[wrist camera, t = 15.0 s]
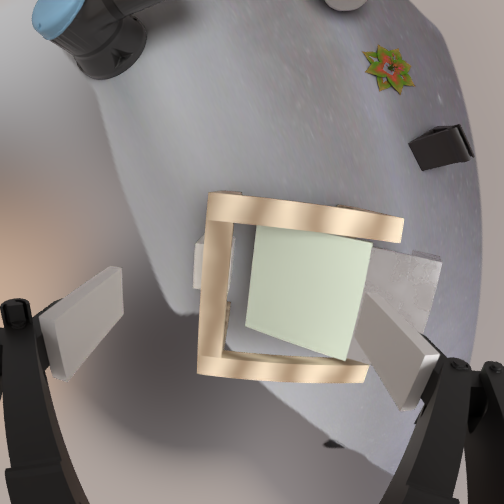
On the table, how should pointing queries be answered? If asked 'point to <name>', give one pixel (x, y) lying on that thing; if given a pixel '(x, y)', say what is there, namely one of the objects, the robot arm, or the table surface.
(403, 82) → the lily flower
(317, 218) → the trapdoor frame
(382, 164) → the table surface
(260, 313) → the trapdoor
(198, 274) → the white rectangular block
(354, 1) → the teacup
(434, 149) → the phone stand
